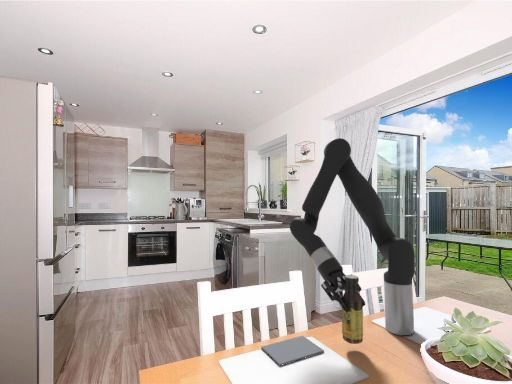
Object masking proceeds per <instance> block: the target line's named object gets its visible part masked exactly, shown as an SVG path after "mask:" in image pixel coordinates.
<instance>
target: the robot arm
mask: <svg viewBox="0 0 512 384" xmlns="http://www.w3.org/2000/svg"><path fill="white" fill-rule="evenodd" d="M351 148H352V147H351V144H350V142H349V141H347V140H346V139H345V138H341V137H337V138H334V139H331V140H330V141H329V142H328V143H327V144H326V145H325V147H324V150H323V156H324V157H323V160H322V164H321V167H320V169H319V171H318V173H317V175H316V177H315V179H314V181H313V182H312V185H311V187H310V188H309V190H308V192H307V194H306V196H305V198H304V201H303V204H302V207H301V210H302V211H303V213H304V217H293V219H291V220H290V223H289V230H290V233H291V235H292V236H293V237H294V239H296V241H297V242H298V243H299V244H300V245H301V246H302V247H303V248H304V250H305V251H306V253H307V255H308V256H309V257H310V259H311V261H312V263H313V265H314V267H315V268H316V270H317V271H318V273H319V275H320V276H321V277H322V279H323V280H324V281H323V282H322V283H321V284H320V286H321V289H323V291H324V292H325V294H326V295H327V296H328V297H329V299H330V300H331V301H332V302H334V301H336V302H338V304H339V305H340V308H341V309H342V308H343V310H344V311H345V312H349V311H350V310H351V307H350V305H349V304H348V302H347V301H346V299H345V298H343V296H344V293H343V291H344V292H345V290H346V289H345V288H346V281H345V276H346V274H345V273H344V271H343V270H344V269H343V266H342V264H340V262H339V260H338V259H337V258H336V257H335V254H333V252H332V251H331V250H330V248H329V247H328V246H327V245H326V243H325V242H324V240H323V239H322V238H321V237H320V236H318V235H317V234H315V232H316V230H317V227H318V222H319V218H320V217H319V216H320V212H321V210H322V208H323V207H324V205H325V202H326V200H327V197H328V195H329V193H330V190H331V188H332V185H333V184H334V181H335V180H336V177H338V178H339V179H340V182H341V184H342V186H343V188H344V190H345V192H346V194H347V195H348V198H349V200H350V202H351V203H352V205H353V206H354V208H355V210H356V212H357V214H358V215H359V216H360V218H361V220H362V221H363V223H364V224H365V226H366V227H367V229H368V230H369V232H370V234H371V236H372V238H373V241H374V242H375V245H376V247H377V249H378V251H379V253H380V255H381V256H382V257H383V258H384V259H385V260H386V261H387V263H388V264H387V265H388V266H387V267H388V268H387V271H385V272H383V294H384V295H383V296H384V299H383V300H384V320H385V321H384V324H385V325H384V326H385V329H386V331H387V332H389V333H391V334H393V335H397V336H402V335H410V336H412V335H411V334H413V333H414V334H415V321H414V319H415V317H414V291H413V279H414V276H415V258H416V257H415V249H414V246H413V244H412V243H411V241H409V240H407V239H405V238H402V237H398V236H397V235H396V234H395V233H394V231H393V230H392V228H391V227H390V225H389V224H388V223H389V222H388V220H387V219H386V214H385V208H384V205H383V202H382V200H381V198H380V196H379V195H378V193H377V191H376V190H375V188H374V187H373V186H372V184H371V183H370V182H369V180H367V178H366V177H365V176H364V175H363V174H362V173H361V172H360V171H359V169H358V168H357V166H356V164H355V163H354V161H353V159H352V156H351V153H352V149H351ZM350 275H353V273H352V274H350ZM361 291H362V287H361V286H360V284H359V283H358V293H359V294H360V292H361ZM360 296H361V298H362V308H363V307H364V306H366V302H365V300H364V298H363V297H362V295H361V294H360ZM414 334H413V335H414Z"/></svg>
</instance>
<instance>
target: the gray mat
mask: <svg viewBox="0 0 512 384" xmlns="http://www.w3.org/2000/svg"><path fill="white" fill-rule="evenodd" d="M261 350H264V351H265V352H266V353H265V354H267V355H268V354H269V355H270V356H271V357H272V358H273V359H274V360H275V361H276V362H277V363H278V364H279V365H282V364H286V363H289V362H292V363H294V362H293V361H295V362H297V361H296V360H298V361H300V360H299V359H301V360H303V359H302V358H305V357H308V358H310V357H309V356H311V357H314V356H317V355H320V354H322V353H325V349H322V348H321V347H320V346H319V345H318V344H316V343H314V342H313V341H311V340H310V339H308V338H307V337H306V336H304V335H300V336H296V337H292V338H289V339H285V340H281V341H277V342H273V343H270V344H266V345H262V346H261ZM264 351H263V352H264ZM319 353H320V354H319ZM316 354H317V355H316ZM269 355H268V356H269ZM313 355H314V356H313ZM270 356H269V357H270ZM271 357H270V358H271ZM272 358H271V359H272ZM273 359H272V360H273ZM305 359H306V358H305ZM274 360H273V361H274ZM275 361H274V362H275ZM276 362H275V363H276ZM277 363H276V364H277ZM278 364H277V365H278ZM289 364H290V363H289ZM279 365H278V366H279ZM286 365H287V364H286Z"/></svg>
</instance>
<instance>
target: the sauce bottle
mask: <svg viewBox="0 0 512 384" xmlns="http://www.w3.org/2000/svg"><path fill="white" fill-rule="evenodd" d="M345 275H346V274H345ZM345 281H346V288H345V289H346V290H345V291H344V293H343V298H345V299H346V301H347V302H348V304H349V305H350V307H351V310H350V311H349V312H345V311H344V310H343V308H342V307H341V334H342V339H343V340H344V341H345V342H347V344H353V345H354V344H355V345H357V344H358V345H359V344H362V343H363V338H364V312H363V311H364V310H363V309H364V308H363V307H362V298H363V297H362V295H361V294H360V292H359V293H358V284H359V276H357V275H353V274H352V275H351V274H347V275H346V276H345ZM360 295H361V296H360ZM361 297H362V298H361Z"/></svg>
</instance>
